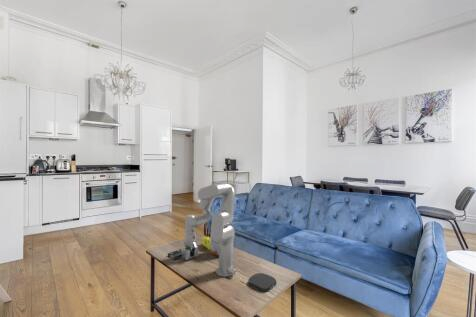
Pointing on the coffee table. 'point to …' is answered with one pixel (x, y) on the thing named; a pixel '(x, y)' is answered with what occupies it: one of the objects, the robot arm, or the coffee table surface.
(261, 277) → the media streaming box
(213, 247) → the cracker box
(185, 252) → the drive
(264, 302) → the coffee table surface
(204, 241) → the yellow toy chassis
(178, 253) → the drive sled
